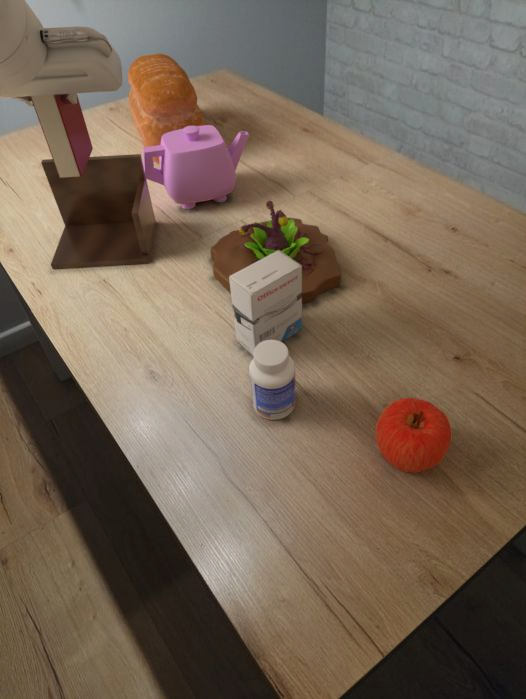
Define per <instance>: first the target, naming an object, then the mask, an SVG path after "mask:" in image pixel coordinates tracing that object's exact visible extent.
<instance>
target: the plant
mask: <svg viewBox="0 0 526 699" xmlns="http://www.w3.org/2000/svg"><path fill="white" fill-rule="evenodd" d="M265 207H266V209H268V210H269V211H270V214H269V215H270V219H271V220H266V221H260V222H257V221H254V222H253V223H249V224H244V225H241V226H240V227H239V229H235V230H232V231H230V232H229V233H228V234H225V235H224V236H222V237H220V238H219V239H218V240H217V242H216V243H215V244H214V245H212V246H211V247H210V256H211V260H212V261H214V262H213V263H212V272H213V276H214V278H215V279H216V281H218V282H219V283H220V285H221V286H222V287H223V288H224V289H225V290H226V291H228V292H229V294H231V289H230V281H229V276H231V275H232V274H234V273H236V272H238V271H240V270H242V269H244V268H246V267H248V266H250V265H251V264H253V263H255V262H257V261H259V260H261V259H263V258H265V257H266V256H268V255H270V254H272V253H274V252H276V251H277V250H280V251H281V252H283V253H284V254H286V255H287V256H289V257H290V258H292V259H293V260H295V261H296V262H298V263H299V264H300V265H302V305H304V304H306V303H311V302H314V301H315V299H316V298H318V297H319V295H320V294H321V293H323V292H326V291H328V290H331V289H333V288H337V287H340V286H341V284H342V269H341V265H340V263H339V261H338V260H337V256H336V252H335V251H336V250H334V248H333V247H332V246H331V245H330V244H329V235H328V234H324V233H322V232H321V229H320V227H319V226H317V225H314V224H306V223H303V221H302V219H300V218H295V217H288V216H287V214H285V213H284V211H282V210H281V209H278V210H276V211H275V208H274V207H275V203H274V202H273V201H272V200H268V201H266V203H265Z"/></svg>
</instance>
